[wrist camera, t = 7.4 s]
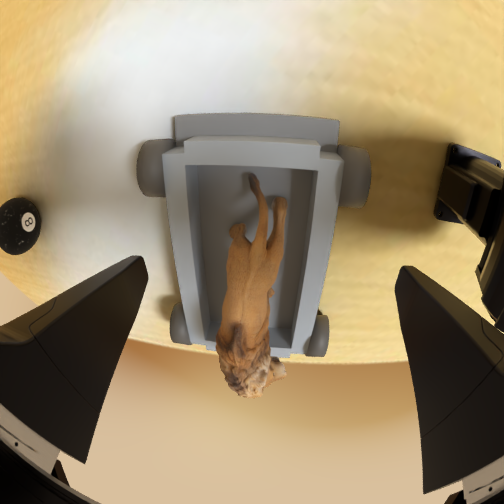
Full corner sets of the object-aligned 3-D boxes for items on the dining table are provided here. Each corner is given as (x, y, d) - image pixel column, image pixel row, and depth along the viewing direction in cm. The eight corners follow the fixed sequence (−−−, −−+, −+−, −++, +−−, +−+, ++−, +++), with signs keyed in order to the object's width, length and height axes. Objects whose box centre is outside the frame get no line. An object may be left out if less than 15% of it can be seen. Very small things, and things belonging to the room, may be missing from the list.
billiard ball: (56, 233, 24) (22, 263, 19) (31, 239, 25) (0, 266, 20) (38, 183, 21) (-2, 208, 16) (13, 195, 22) (-21, 219, 17)
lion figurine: (287, 324, 25) (284, 407, 18) (232, 322, 26) (215, 403, 19) (288, 169, 18) (293, 230, 10) (211, 172, 18) (161, 232, 11)
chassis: (359, 123, 16) (377, 130, 13) (316, 342, 28) (318, 373, 24) (158, 116, 17) (131, 123, 14) (187, 331, 29) (177, 359, 26)
